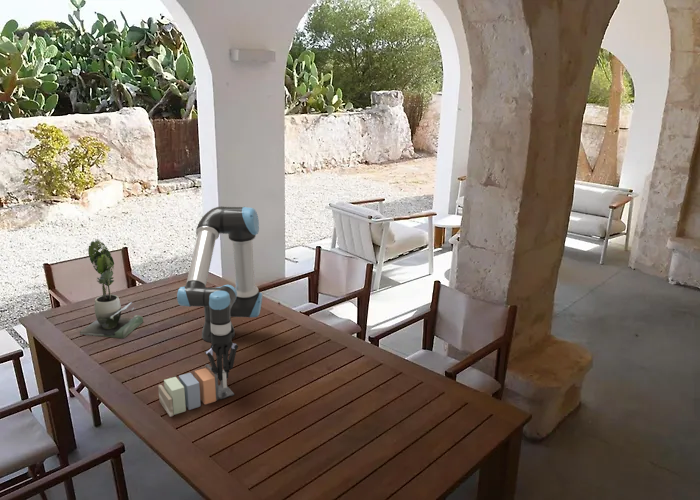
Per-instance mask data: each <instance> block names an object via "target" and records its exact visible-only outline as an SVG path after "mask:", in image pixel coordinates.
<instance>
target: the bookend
mask: <svg viewBox="0 0 700 500" xmlns="http://www.w3.org/2000/svg"><path fill="white" fill-rule="evenodd" d="M205 368H206V369H207V370H208V371H209V372H210V373H211V374H212V375H213V376H214V377H215V389H216V401H219V400H223V399H226V398H229V397H232V396H235V392H233V390H232V389H231V388H230V387H229V386H228V385H227V388H222V387H221V385H220V384H219V379H218V373H216V372H215V371H214V370H213V369H212V367H211V364H209V363H205Z"/></svg>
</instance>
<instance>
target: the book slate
mask: <svg viewBox="0 0 700 500" xmlns="http://www.w3.org/2000/svg"><path fill="white" fill-rule="evenodd" d="M178 380H179V381H180V383H181V384H182V385H183V386H184V391H185V406H186V409H188V410H189V411H190V410H193V409H196V408H199V407H201V405H202V404H201V399H200V387H199V382H198V381H197V380H196V378H195V375H193V373H191V372H188V373H184V374H180V375H178Z"/></svg>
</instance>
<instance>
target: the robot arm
mask: <svg viewBox="0 0 700 500" xmlns="http://www.w3.org/2000/svg"><path fill="white" fill-rule="evenodd" d="M259 231H260V222H259V216H258V213H257V211H256V209H255V208H253V207H248V206H247V207H246V206H216V207H214V208H213V207H212V208H211V209H210V210H208V211H207V212H206V213H205V214H204V215H203V216H202V217H201V218H200V220H199V222H198V223H197V227H196V231H195V235H196V236H197V237H196V241H195V245H194V250H193V254H192V258H191V263H190V265H189V270H188V275H187V278H186V284H185V286H180V287H179V288H178V290H177V295H176V300H177V303H178V305H179V306H180V307H181V306H182V307H204V308H203V309H204V310H203V312H204V325H203V327H202V331H201V339H202V340H203V341H205V342H207V343H211V345H210V349H208V350H205V351H204V354H206V356H207V358H208V360H209V363H210V364H209V365H210V366H211V367H212V369H213V370H214V371H215V372H216V373H217V375H218V381H220V382H219V385H221V387H222V388H227V386H228V385H227V384H228V383H227V382H228V381H227V379H229V373H230V371H231V370H233V368H234V363H235V359H236V354H237V351H238V348H239V345H238V344H237V343H236V342H233V341H232V340H233V338H235V335H236V333H235V328H234V325H233V323H232V320H231V318H257V317H259V316H260V313H261V309H262V305H263V304H262V303H263V292H261V291H260V292H259V288H258V286H257V285H256V284H255V267H254V265H255V264H254V246H253V241H254V239H256V235H258V234H259ZM221 234H222V235H223V234H225V235H228V239H229V241H231V242H232V252H233V253H232V254H233V266H234V280H235V287H234V286H233V285H231V284H224V285H221V286H216V287H209V286H208V287H206V286H207V282H208V276H209V272H210V267H211V262H212V257H213V254H214V249H215V244H216V240H218V239H219V238H220V237H219V236H220V235H221ZM214 353H215V357H216V361H215V358H214V356H213V354H214Z"/></svg>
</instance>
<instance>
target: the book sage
mask: <svg viewBox="0 0 700 500" xmlns="http://www.w3.org/2000/svg"><path fill="white" fill-rule="evenodd" d="M163 387H164V389H165V390H166V391H167V393H168V394H169V395H170V397H171V398H172V404H173V416H174V415H178V414H181V413H184V412H186V411H187V407H186V405H185V391H184V386H183V385H182V384H181V383H180V381H179V378H177V376H173V377H169V378H167V379H163Z"/></svg>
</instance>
